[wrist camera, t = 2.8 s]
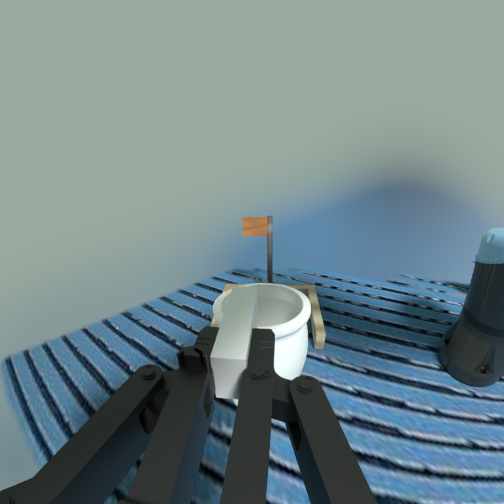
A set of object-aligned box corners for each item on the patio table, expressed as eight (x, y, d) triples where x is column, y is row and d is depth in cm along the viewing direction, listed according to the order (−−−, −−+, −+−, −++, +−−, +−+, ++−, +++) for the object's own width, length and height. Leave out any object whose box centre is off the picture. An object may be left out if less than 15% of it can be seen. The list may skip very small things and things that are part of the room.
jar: (242, 434, 28) (234, 344, 23) (213, 381, 37) (200, 293, 32) (315, 403, 32) (331, 312, 27) (278, 360, 41) (280, 274, 36)
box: (323, 348, 43) (335, 245, 37) (209, 346, 45) (198, 244, 39) (313, 297, 60) (318, 216, 53) (226, 295, 61) (221, 215, 55)
